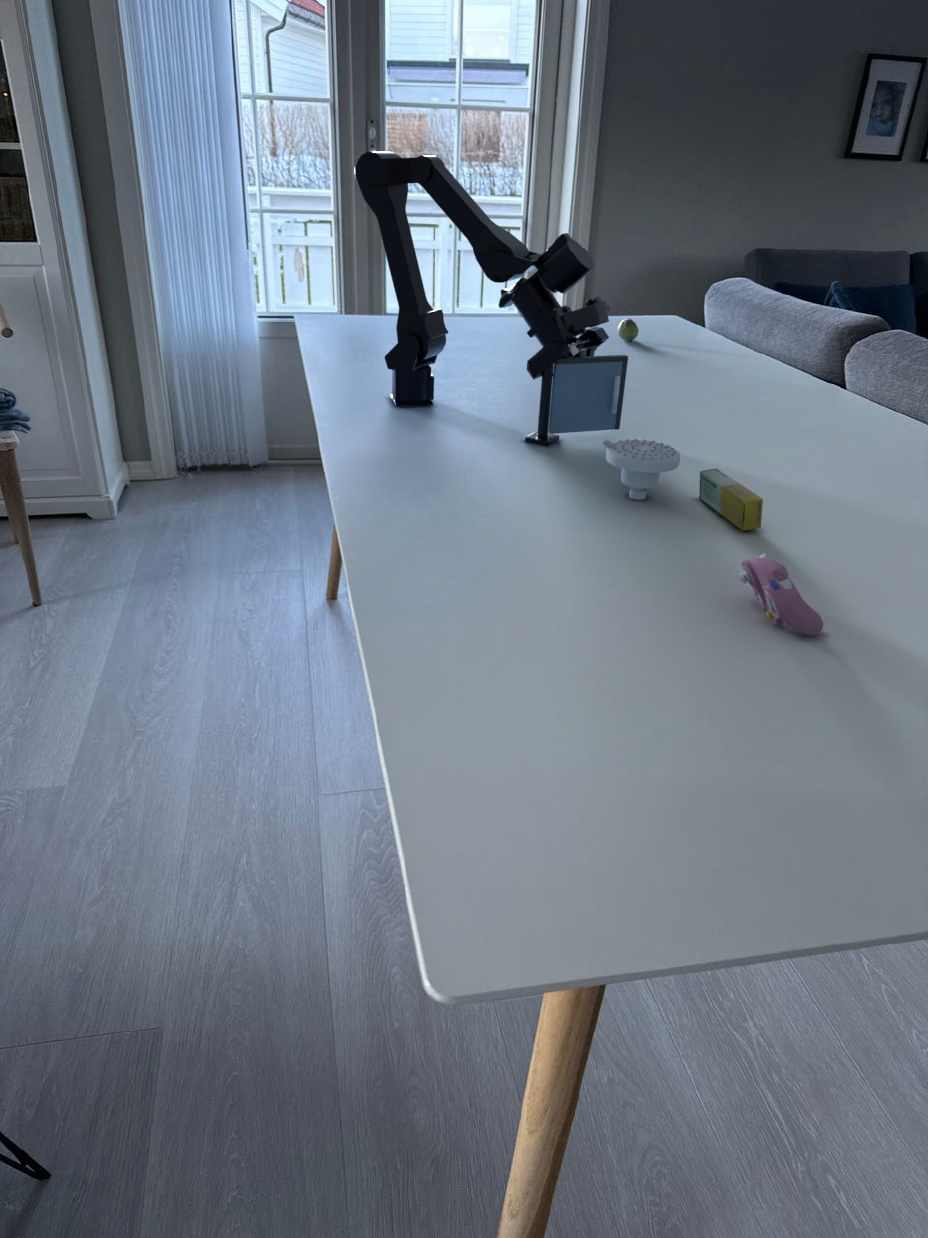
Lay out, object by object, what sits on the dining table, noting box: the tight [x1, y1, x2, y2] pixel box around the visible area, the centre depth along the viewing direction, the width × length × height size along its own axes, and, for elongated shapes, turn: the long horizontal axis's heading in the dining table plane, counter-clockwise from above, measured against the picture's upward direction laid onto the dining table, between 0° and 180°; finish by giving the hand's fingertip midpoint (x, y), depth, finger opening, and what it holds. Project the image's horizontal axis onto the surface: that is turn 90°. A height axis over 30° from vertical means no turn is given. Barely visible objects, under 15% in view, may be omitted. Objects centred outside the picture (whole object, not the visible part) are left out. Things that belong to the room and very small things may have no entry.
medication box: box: [698, 468, 764, 532], centre depth 113 cm, size 12×3×4 cm, turn 13°
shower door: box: [548, 354, 629, 435], centre depth 138 cm, size 2×12×11 cm, turn 110°
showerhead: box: [602, 438, 681, 501], centre depth 117 cm, size 9×7×10 cm
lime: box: [617, 318, 639, 342], centre depth 212 cm, size 4×5×5 cm
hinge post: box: [524, 363, 560, 448], centre depth 136 cm, size 4×4×13 cm
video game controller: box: [739, 552, 824, 637], centre depth 89 cm, size 10×5×7 cm, turn 5°
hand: (599, 397), depth 140 cm, fingers closed
